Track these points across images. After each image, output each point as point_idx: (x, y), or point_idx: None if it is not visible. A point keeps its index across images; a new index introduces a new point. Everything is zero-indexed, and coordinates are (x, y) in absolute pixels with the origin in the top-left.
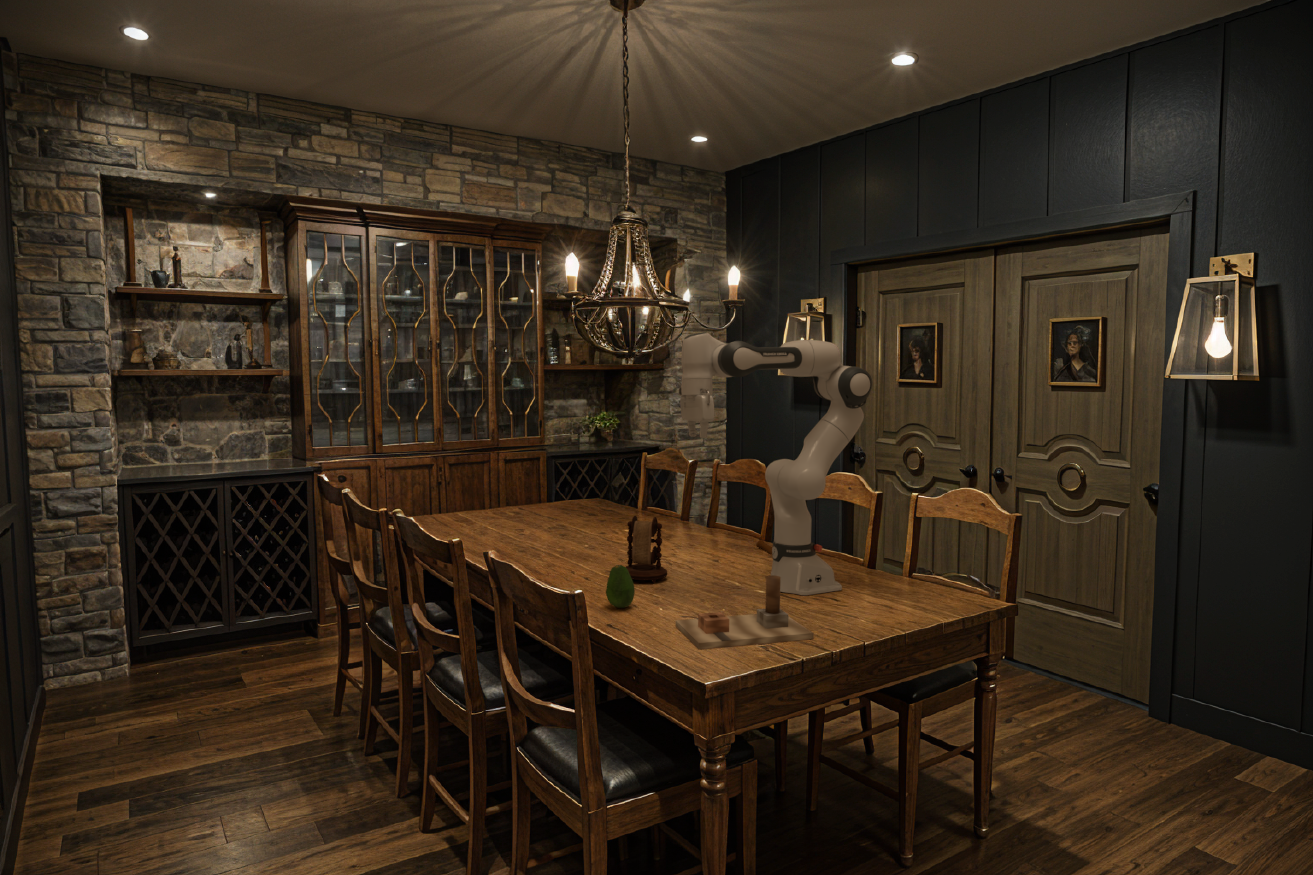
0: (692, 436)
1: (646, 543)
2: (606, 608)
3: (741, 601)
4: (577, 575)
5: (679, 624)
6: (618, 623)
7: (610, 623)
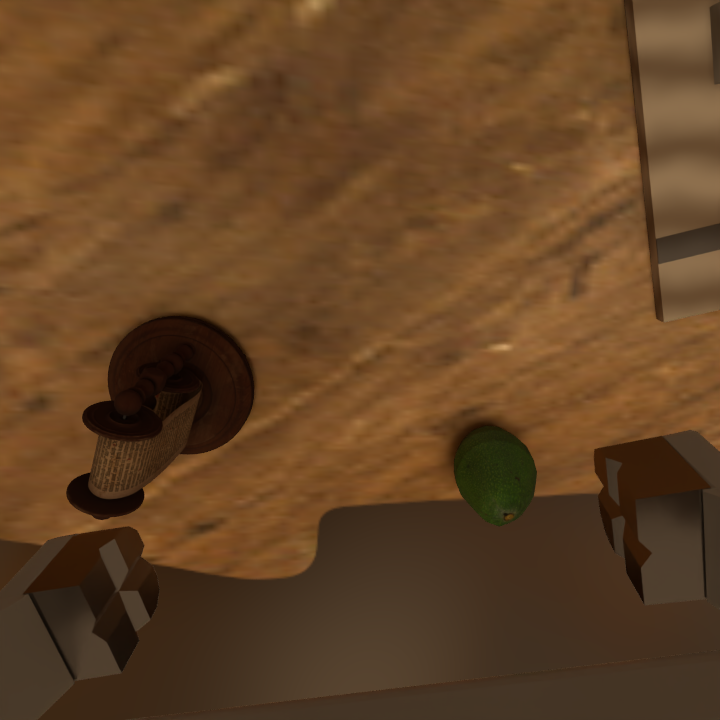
0: (153, 573)
1: (175, 422)
2: None
3: (437, 95)
4: (174, 550)
5: (697, 314)
6: None
7: None
